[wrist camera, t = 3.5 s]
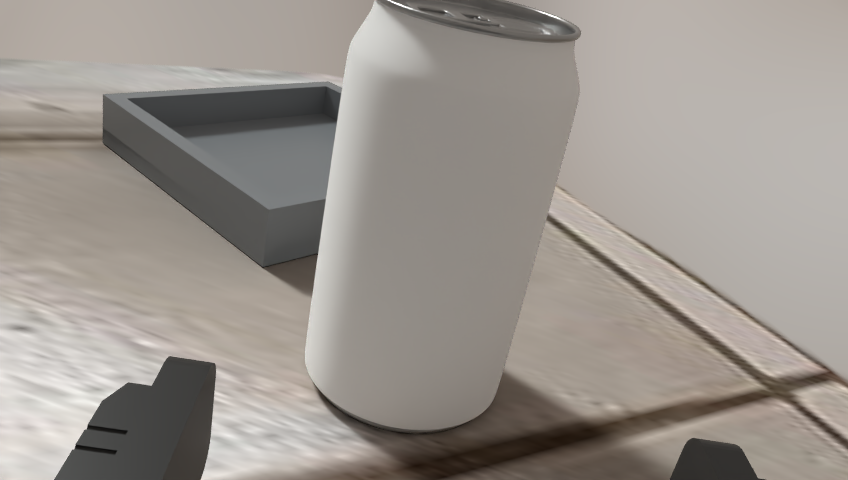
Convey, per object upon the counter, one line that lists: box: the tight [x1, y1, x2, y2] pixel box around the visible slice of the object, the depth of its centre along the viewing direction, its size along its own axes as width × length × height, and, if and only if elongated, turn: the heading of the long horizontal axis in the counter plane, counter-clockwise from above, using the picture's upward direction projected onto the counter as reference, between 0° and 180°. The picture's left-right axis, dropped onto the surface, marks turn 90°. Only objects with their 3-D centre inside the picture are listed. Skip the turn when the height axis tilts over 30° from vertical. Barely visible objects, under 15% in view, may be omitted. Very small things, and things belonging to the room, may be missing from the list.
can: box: [305, 0, 581, 433], centre depth 23 cm, size 6×6×12 cm
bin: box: [103, 82, 342, 267], centre depth 38 cm, size 14×14×2 cm
